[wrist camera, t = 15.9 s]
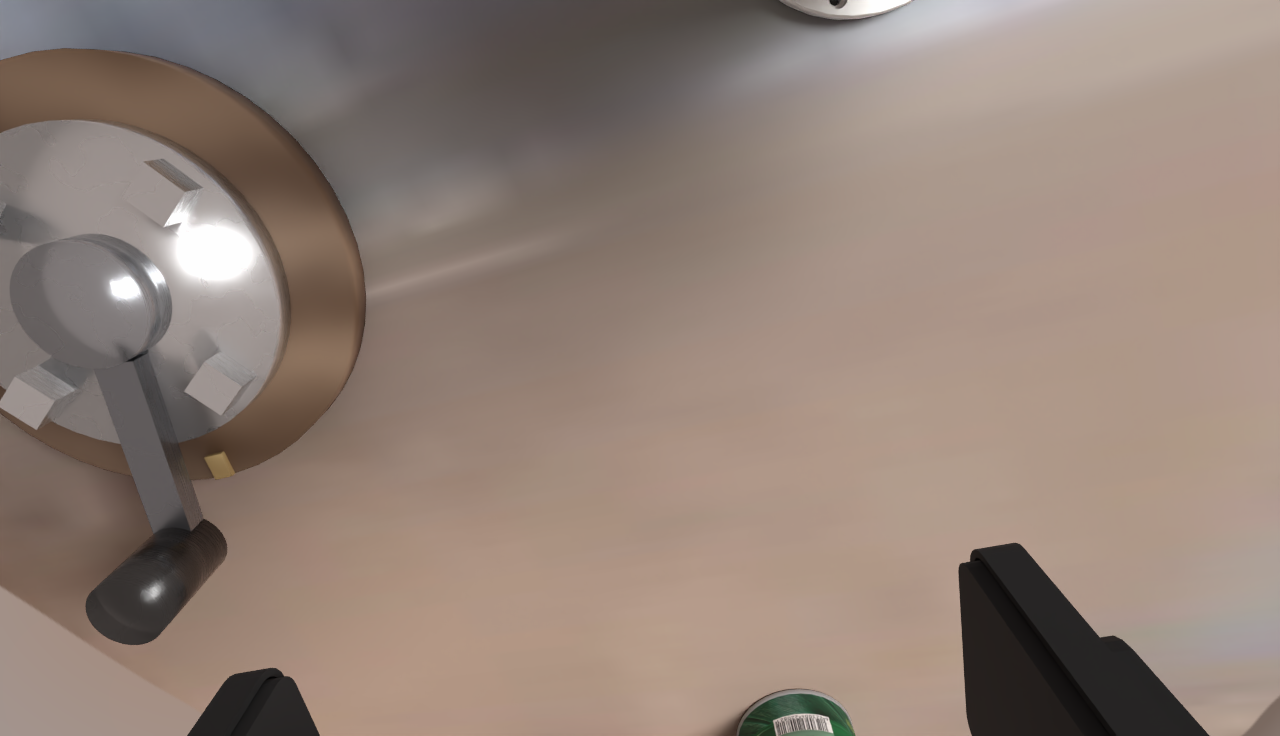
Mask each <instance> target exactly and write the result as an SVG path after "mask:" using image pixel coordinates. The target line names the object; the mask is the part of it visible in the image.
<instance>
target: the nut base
mask: <svg viewBox="0 0 1280 736" xmlns="http://www.w3.org/2000/svg"><path fill="white" fill-rule="evenodd" d="M72 119H98V120H106V121H115V122H120V123H124V124H128V125H132V126H136V127H140V128H143V129H146V130H149V131H151V132H154V133H157V134H159V135H162V136H164V137H166V138H168V139H170V140H172V141H174V142H176V143H178V144H180V145H182V146H184V147H186V148H187V149H189V150H190V151H192V152H193V153H195V154H196V155H198V156H199V157H201V158H202V159H204V160H205V161H207V162H208V163H209V164H211V165H212V166H213V167H214V168H215V169H217V170H218V171H219V172H220V173H221V174H223V175H224V176H225V177H226V178H227V179H228V180H229V181H230V182H231V183H232V184H233V185H234V186H235V187H236V188H237V189H238V190H239V191H240V192H241V193H242V194H243V195H244V197H245V198H246V199H247V201H248V202H249V203H250V204H251V206H252V207H253V208H254V210H255V211H256V212H257V213H258V215H259V217H260V218H261V220H262V221H263V223H264V225H265V226H266V228H267V230H268V231H269V233H270V235H271V237H272V239H273V241H274V243H275V246H276V248H277V250H278V252H279V254H280V257H281V260H282V263H283V266H284V270H285V273H286V276H287V281H288V287H289V292H290V302H291V323H290V334H289V339H288V343H287V347H286V351H285V354H284V357H283V359H282V361H281V364H280V366H279V369H278V371H277V372H276V374H275V375H274V377H273V379H272V380H271V382H270V384H269V385H268V386H267V387H266V388H265V390H264V391H263V392H262V393H261V394H260V395H259V397H258V398H257V399H255V400H254V401H253V402H252V403H251V404H250V405H248V406H247V407H246V408H245V409H244V410H242V411H241V412H240V413H239V414H238V415H236V416H235V417H234V418H233V419H231V420H230V421H229V422H227V423H225V424H224V425H222V426H221V427H219V428H217V429H216V430H214V431H212V432H209V433H207V434H205V435H202V436H200V437H198V438H194V439H191V440H187V441H183V442H180V443H178V444H179V447H180V450H181V453H182V456H183V459H184V462H185V465H186V468H187V471H188V474H189V477H190V480H198V479H209V478H215V480H217V479H221V478H225V477H230V476H233V475H234V474H235V473H236V472H239V471H242V470H245V469H248V468H250V467H253V466H256V465H258V464H260V463H262V462H264V461H266V460H268V459H270V458H272V457H274V456H275V455H277V454H279V453H280V452H282V451H283V450H285V449H286V448H287V447H289V446H290V445H291V444H293V443H294V442H296V441H297V440H298V439H299V438H300V437H301V436H302V435H303V434H304V433H305V432H306V431H307V430H308V429H309V428H310V427H311V426H312V425H313V424H314V423H315V422H316V421H317V420H318V419H319V418H320V417H321V416H322V415H323V414H324V413H325V412H326V411H327V410H328V409H329V407H330V406H331V405H332V403H333V402H334V401H335V399H336V398H337V397H338V395H339V394H340V392H341V391H342V390H343V388H344V386H345V384H346V382H347V380H348V378H349V376H350V374H351V372H352V370H353V368H354V365H355V362H356V359H357V356H358V353H359V350H360V347H361V342H362V337H363V331H364V326H365V311H366V292H365V282H364V272H363V267H362V263H361V259H360V254H359V250H358V246H357V242H356V240H355V237H354V234H353V231H352V229H351V226H350V223H349V221H348V218H347V216H346V214H345V212H344V210H343V208H342V206H341V204H340V202H339V200H338V198H337V196H336V194H335V192H334V190H333V189H332V187H331V186H330V184H329V183H328V181H327V180H326V178H325V177H324V175H323V174H322V172H321V171H320V169H319V168H318V166H317V165H316V163H315V162H314V161H313V160H312V158H311V157H310V156H309V155H308V154H307V153H306V151H305V150H304V149H303V148H302V147H301V145H300V144H299V143H298V142H297V141H296V139H295V138H293V137H292V136H291V135H290V134H289V133H288V132H287V131H286V130H285V129H284V128H283V127H282V126H281V125H280V124H279V123H278V122H277V121H276V120H275V119H273V118H272V117H271V116H270V115H269V114H267V113H266V112H265V111H263V110H262V109H261V108H259V107H258V106H257V105H255V104H254V103H253V102H251V101H250V100H249V99H247V98H246V97H245V96H243V95H241V94H240V93H238V92H236V91H235V90H233V89H231V88H230V87H228V86H226V85H224V84H223V83H221V82H219V81H218V80H216V79H214V78H211V77H209V76H207V75H205V74H202V73H200V72H198V71H196V70H193V69H191V68H189V67H187V66H183V65H180V64H177V63H174V62H170V61H167V60H164V59H161V58H157V57H153V56H147V55H141V54H135V53H130V52H123V51H109V50H94V49H68V48H62V49H53V50H43V51H34V52H29V53H26V54H22V55H18V56H14V57H11V58H7V59H3V60H1V61H0V133H2V132H4V131H6V130H10V129H13V128H16V127H19V126H22V125H25V124H31V123H37V122H43V121H53V120H72ZM5 392H6V390H5V389H4V388H3V387H2V386H0V401H1V399H2V397H3V395H4V394H5ZM0 413H1V414H2V415H3V416H5V417H6V418H7V419H9V420H10V421H12V422H13V423H14V424H16V425H17V426H18V427H20V428H21V429H22V430H24V431H25V432H27V433H28V434H30V435H32V436H33V437H35V438H37V439H38V440H40V441H42V442H43V443H45V444H47V445H48V446H50V447H52V448H54V449H56V450H58V451H60V452H62V453H64V454H67V455H69V456H71V457H73V458H75V459H77V460H80V461H82V462H85V463H88V464H91V465H94V466H96V467H99V468H102V469H105V470H109V471H113V472H117V473H121V474H125V475H129V476H132V473H131V471H130V468H129V465H128V463H127V460H126V457H125V454H124V452H123V449H122V446H121V444H118V443H113V442H108V441H103V440H99V439H95V438H92V437H89V436H86V435H83V434H80V433H76V432H74V431H72V430H70V429H67V428H65V427H63V426H60V425H58V424H56V423H54V422H50V423H48V424H46V425H45V426H43V427H41V428H39V429H37V430H36V429H34V428H33V427H31V426H29V425H28V424H26V423H24V422H23V421H21V420H20V419H18V418H16V417H15V416H13V415H11V414H10V413H8V412H7V411H5V410H3V409H2V408H0Z"/></svg>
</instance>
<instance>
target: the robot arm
mask: <svg viewBox="0 0 1280 736" xmlns="http://www.w3.org/2000/svg"><path fill="white" fill-rule="evenodd" d="M779 1H781V2H782V3H784V4H785V5H787V6H789V7H791V8H794V9H796V10H799V11H801V12H804V13H806V14H809V15H811V16H817V17H823V18H829V19H835V20H843V19H862V18H866V17H871V16H875V15H880V14H883V13H886V12H889V11H892V10H894V9H897V8H899V7H902V6H905V5H907V4H909V3H910V2H912V1H914V0H839V2H838V4H837V5H836V6H833V5H831V4H830V1H829V0H779ZM959 589H960V607H961V624H962V642H963V660H964V678H965V696H966V713H967V720H968V724H969V728H970V731H971V734H972V736H1209V735H1208V734H1207V732H1206V731H1205V730H1204V729H1203V728H1202V727H1201V726H1200V725H1199V723H1198V722H1197V721H1196V720H1195V719H1194V718H1193V717H1192V716H1191V714H1190V713H1189V712H1188V711H1187V710H1186V709H1185V708H1184V707H1183V705H1182V704H1181V703H1180V702H1179V701H1178V700H1177V699H1176V698H1175V696H1174V695H1173V694H1172V693H1171V692H1170V691H1169V690H1168V689H1167V687H1166V686H1165V685H1164V684H1163V683H1162V682H1161V681H1160V680H1159V678H1158V677H1157V676H1156V675H1155V674H1154V673H1153V672H1152V671H1151V669H1150V668H1149V667H1148V666H1147V665H1146V664H1145V663H1144V661H1143V660H1142V659H1141V658H1140V657H1139V656H1138V655H1137V654H1136V652H1135V651H1134V650H1133V649H1132V648H1131V647H1130V646H1129V645H1127V644H1126V643H1125V642H1124V641H1123V640H1122V639H1120V638H1117V637H1115V636H1108V637H1101V638H1100V637H1099V636H1098V635H1097V634H1096V633H1095V631H1094V630H1093V629H1092V628H1091V627H1090V626H1089V624H1088V623H1087V622H1086V621H1085V620H1084V618H1083V617H1082V616H1081V615H1080V614H1079V613H1078V611H1077V610H1076V609H1075V608H1074V607H1073V605H1072V604H1071V603H1070V602H1069V601H1068V600H1067V598H1066V597H1065V596H1064V595H1063V594H1062V593H1061V591H1060V590H1059V589H1058V588H1057V587H1056V585H1055V584H1054V583H1053V582H1052V581H1051V580H1050V578H1049V577H1048V576H1047V575H1046V574H1045V572H1044V571H1043V570H1042V569H1041V568H1040V567H1039V565H1038V564H1037V563H1036V562H1035V561H1034V559H1033V558H1032V557H1031V556H1030V555H1029V554H1028V552H1027V551H1026V550H1025V549H1024V548H1023V547H1022V546H1021V545H1020V544H1018V543H1011V544H1005V545H999V546H993V547H987V548H981V549H975V550H973V551H972V553H971V556H970V562H966V563H961V564H960V565H959ZM187 736H320V735H319V733H318V731H317V728H316V726H315V724H314V722H313V720H312V718H311V715H310V713H309V711H308V709H307V707H306V705H305V703H304V700H303V698H302V696H301V694H300V692H299V690H298V687H297V685H296V683H295V682H294V680H293V679H292V678H290V677H287V676H285V677H284V675H283V674H282V672H281V671H279V670H278V669H276V668H268V669H262V670H256V671H250V672H244V673H238V674H234V675H232V676H230V677H229V678H228V679H227V680H226V681H225V682H224V683H223V685H222V686H221V688H220V689H219V691H218V692H217V693H216V695H215V696H214V698H213V699H212V701H211V702H210V704H209V705H208V706H207V708H206V709H205V711H204V712H203V714H202V715H201V717H200V718H199V719H198V721H197V722H196V724H195V725H194V727H193V728H192V730H191V731H190V733H189V734H188V735H187Z"/></svg>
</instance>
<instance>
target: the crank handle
mask: <svg viewBox="0 0 1280 736" xmlns="http://www.w3.org/2000/svg"><path fill="white" fill-rule="evenodd" d="M290 323H291V302H290V292H289V287H288V281H287V276H286V273H285V270H284V266H283V263H282V260H281V257H280V254H279V252H278V250H277V248H276V246H275V243H274V241H273V239H272V237H271V235H270V233H269V231H268V230H267V228H266V226H265V225H264V223H263V221H262V220H261V218H260V217H259V215H258V213H257V212H256V211H255V210H254V208H253V207H252V206H251V204H250V203H249V202H248V201H247V199H246V198H245V197H244V195H243V194H242V193H241V192H240V191H239V190H238V189H237V188H236V187H235V186H234V185H233V184H232V183H231V182H230V181H229V180H228V179H227V178H226V177H225V176H224V175H223V174H221V173H220V172H219V171H218V170H217V169H215V168H214V167H213V166H212V165H211V164H209V163H208V162H207V161H205V160H204V159H202V158H201V157H199V156H198V155H196V154H195V153H193V152H192V151H190V150H189V149H187V148H186V147H184V146H182V145H180V144H178V143H176V142H174V141H172V140H170V139H168V138H166V137H164V136H162V135H159V134H157V133H154V132H151V131H149V130H146V129H143V128H140V127H136V126H132V125H128V124H124V123H120V122H115V121H106V120H98V119H72V120H53V121H43V122H37V123H31V124H25V125H22V126H19V127H16V128H13V129H10V130H6V131H4V132H2V133H0V386H2V387H3V388H4V389H5V390H6V392H5V394H4V395H3V397H2V399H1V401H0V408H2V409H3V410H5V411H7V412H8V413H10V414H11V415H13V416H15V417H16V418H18V419H20V420H21V421H23V422H24V423H26V424H28V425H29V426H31V427H33V428H34V429H36V430H37V429H39V428H41V427H43V426H45V425H46V424H48V423H50V422H54V423H56V424H58V425H60V426H63V427H65V428H67V429H70V430H72V431H74V432H76V433H80V434H83V435H86V436H89V437H92V438H95V439H99V440H103V441H108V442H113V443H118V444H121V446H122V449H123V452H124V454H125V457H126V460H127V463H128V465H129V468H130V471H131V473H132V476H133V479H134V482H135V484H136V487H137V490H138V493H139V495H140V498H141V501H142V504H143V506H144V509H145V512H146V515H147V517H148V520H149V523H150V525H151V528H152V531H153V535H152V536H151V537H150V538H149V539H148V540H147V541H146V542H145V543H143V544H142V545H141V546H140V547H139V548H138V549H137V550H136V551H135V552H134V553H133V554H132V555H131V556H129V557H128V558H127V559H126V560H125V561H124V562H123V563H122V564H121V565H120V566H119V567H118V568H116V569H115V570H114V571H113V572H112V573H111V574H110V575H109V576H108V577H107V578H106V579H105V580H103V581H102V582H101V583H100V584H99V585H98V586H97V587H96V588H95V589H94V590H93V591H92V592H91V593H90V594H89V596H88V598H87V600H86V613H87V616H88V618H89V620H90V622H91V623H92V625H93V626H94V627H95V628H96V629H97V630H98V631H99V632H100V633H101V634H103V635H104V636H106V637H107V638H109V639H111V640H113V641H116V642H119V643H122V644H128V645H140V644H145V643H148V642H151V641H152V640H154V639H155V638H157V637H158V636H159V635H160V633H161V632H162V631H163V630H164V629H165V628H166V627H167V625H168V624H169V623H170V622H171V621H172V620H173V619H174V617H175V616H176V615H177V614H178V613H179V612H180V610H181V609H182V608H183V607H184V606H185V605H186V604H187V602H188V601H189V600H190V599H191V598H192V597H193V596H194V594H195V593H196V592H197V591H198V590H199V589H200V588H201V586H202V585H203V584H204V583H205V582H206V581H207V580H208V578H209V577H210V576H211V575H212V574H213V573H214V571H215V570H216V569H217V568H218V567H219V566H220V565H221V563H222V562H223V561H224V559H225V557H226V554H227V543H226V540H225V538H224V536H223V534H222V533H221V532H220V530H219V529H218V528H217V527H216V526H215V525H213V524H212V523H210V522H209V521H207V520H205V519H204V518H203V515H202V512H201V509H200V506H199V503H198V500H197V497H196V494H195V491H194V488H193V486H192V483H191V480H190V477H189V474H188V471H187V468H186V465H185V462H184V459H183V456H182V453H181V450H180V447H179V444H178V443H180V442H183V441H187V440H191V439H194V438H198V437H200V436H202V435H205V434H207V433H209V432H212V431H214V430H216V429H217V428H219V427H221V426H222V425H224V424H225V423H227V422H229V421H230V420H231V419H233V418H234V417H235V416H236V415H238V414H239V413H240V412H241V411H242V410H244V409H245V408H246V407H247V406H248V405H250V404H251V403H252V402H253V401H254V400H255V399H257V398H258V397H259V395H260V394H261V393H262V392H263V391H264V390H265V388H266V387H267V386H268V385H269V384H270V382H271V380H272V379H273V377H274V375H275V374H276V372H277V371H278V369H279V366H280V364H281V361H282V359H283V357H284V354H285V351H286V347H287V343H288V339H289V334H290Z"/></svg>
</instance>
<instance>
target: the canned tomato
mask: <svg viewBox="0 0 1280 736" xmlns="http://www.w3.org/2000/svg"><path fill="white" fill-rule="evenodd" d="M737 736H855V733H854V730H853V726H852V722H851V718H850V717H849V715H848V713H847V711H846V709H845V708H844V707H843V706H842V705H841V704H840V703H839V702H838V701H836V700H835V699H834V698H832V697H830V696H828V695H826V694H824V693H821V692H817V691H813V690H805V689H793V690H785V691H781V692H777V693H774V694H771V695H769V696H766V697H765V698H763V699H761V700H759V701H758V702H756V703H755V704H754V705H753V706H752V707H750V708H749V709H748V711H747V712H746V713H745V714H744V716H743V717H742V719H741V721H740V723H739V725H738V730H737Z"/></svg>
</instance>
